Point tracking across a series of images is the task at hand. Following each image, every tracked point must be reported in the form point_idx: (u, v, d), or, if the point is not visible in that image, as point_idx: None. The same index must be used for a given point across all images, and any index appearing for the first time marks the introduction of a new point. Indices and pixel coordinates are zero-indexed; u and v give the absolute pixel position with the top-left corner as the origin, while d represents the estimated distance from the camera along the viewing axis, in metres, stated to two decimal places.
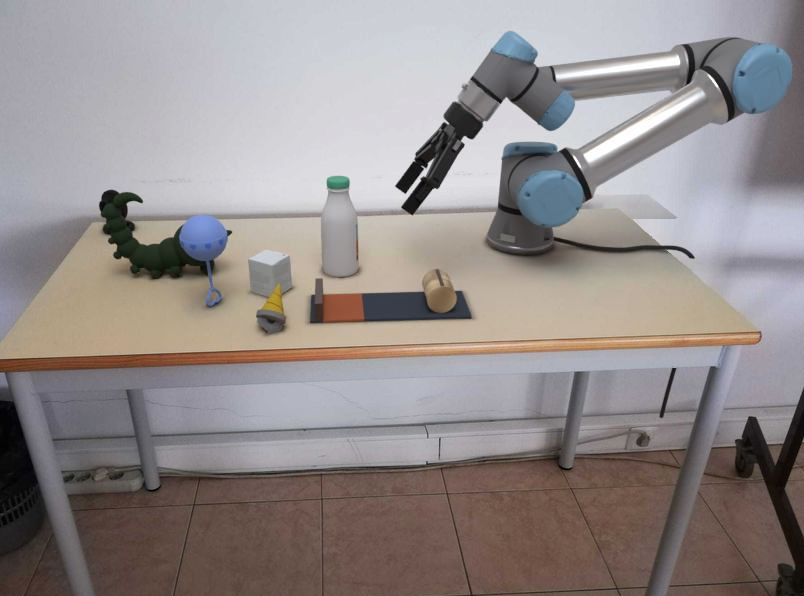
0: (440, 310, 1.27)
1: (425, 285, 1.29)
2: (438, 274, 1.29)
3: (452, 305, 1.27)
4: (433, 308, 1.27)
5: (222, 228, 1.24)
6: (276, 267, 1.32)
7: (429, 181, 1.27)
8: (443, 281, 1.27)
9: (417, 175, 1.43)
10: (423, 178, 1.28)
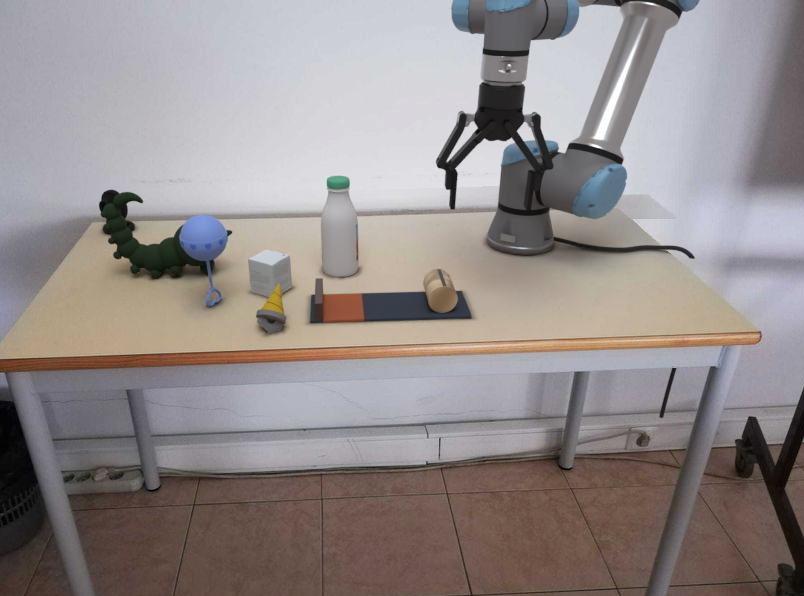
0: (441, 310, 1.27)
1: (426, 284, 1.29)
2: (440, 274, 1.29)
3: (453, 306, 1.27)
4: (433, 307, 1.27)
5: (222, 228, 1.24)
6: (276, 267, 1.32)
7: (552, 167, 1.18)
8: (445, 281, 1.27)
9: None
10: (543, 170, 1.18)
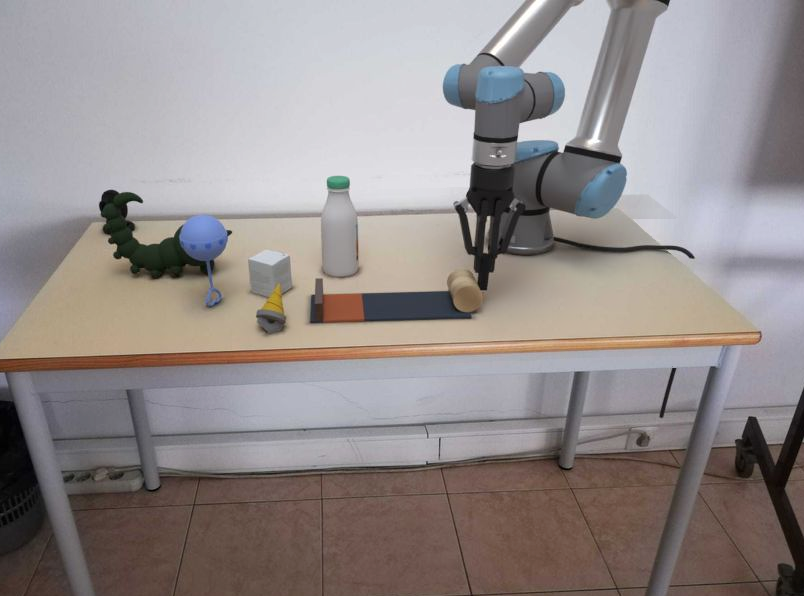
0: (457, 297, 1.26)
1: (472, 277, 1.29)
2: None
3: (459, 307, 1.27)
4: (461, 290, 1.25)
5: (222, 228, 1.24)
6: (276, 267, 1.32)
7: None
8: None
9: None
10: None
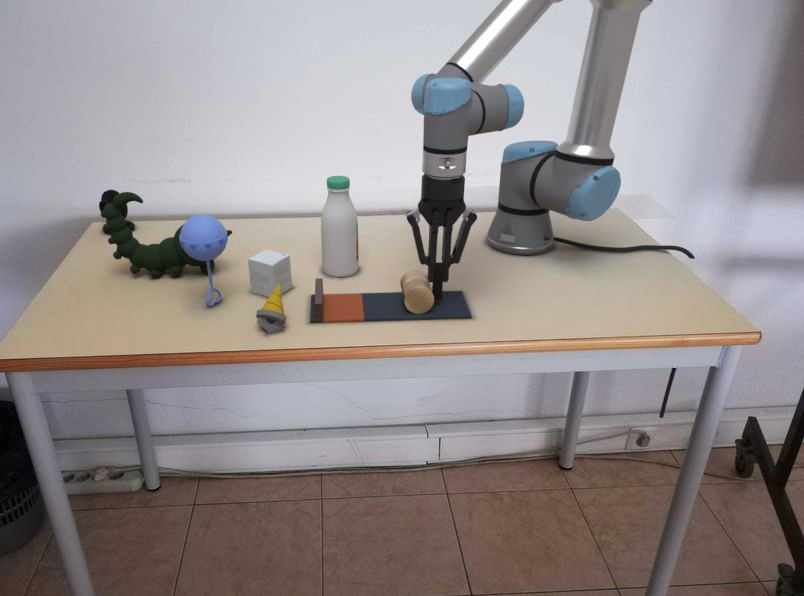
0: (430, 302, 1.26)
1: None
2: (402, 286, 1.30)
3: (428, 291, 1.25)
4: (426, 309, 1.27)
5: (222, 228, 1.24)
6: (276, 267, 1.32)
7: None
8: (404, 290, 1.27)
9: None
10: None
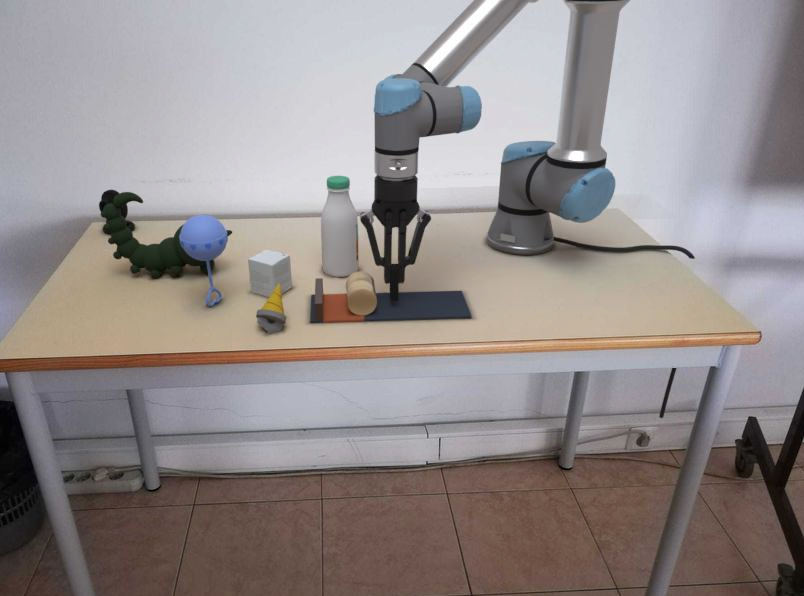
0: (352, 307, 1.26)
1: (358, 279, 1.28)
2: (373, 282, 1.29)
3: (362, 313, 1.27)
4: (350, 300, 1.25)
5: (222, 228, 1.24)
6: (276, 267, 1.32)
7: None
8: (375, 291, 1.27)
9: None
10: (404, 268, 1.25)
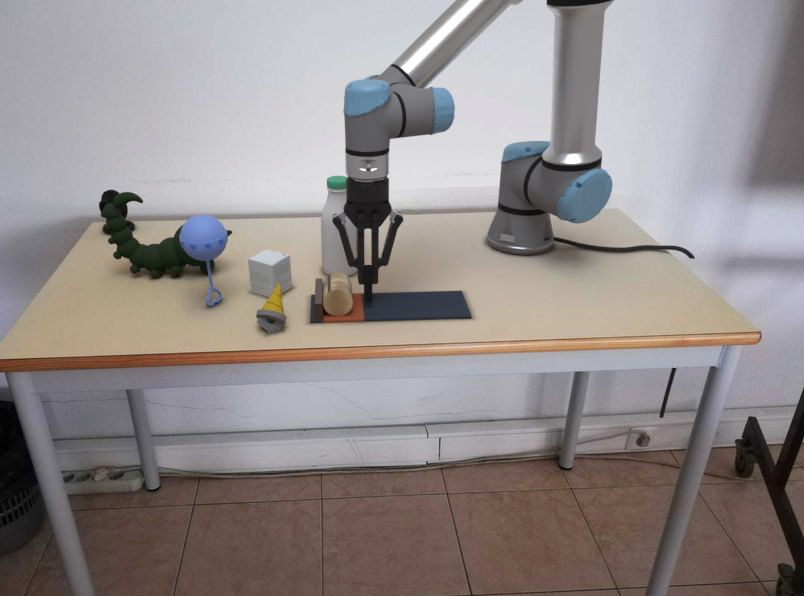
0: (344, 311, 1.26)
1: None
2: (328, 280, 1.29)
3: (350, 302, 1.25)
4: (336, 314, 1.26)
5: (222, 228, 1.24)
6: (276, 267, 1.32)
7: None
8: (331, 285, 1.26)
9: None
10: (377, 269, 1.25)
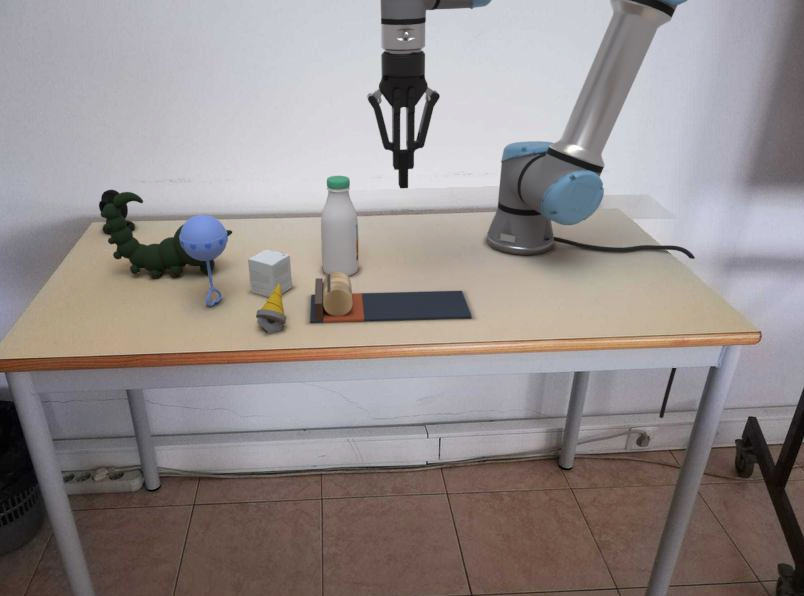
0: (343, 311, 1.26)
1: None
2: (328, 280, 1.29)
3: (350, 302, 1.25)
4: (336, 314, 1.26)
5: (222, 228, 1.24)
6: (276, 267, 1.32)
7: None
8: (330, 285, 1.26)
9: None
10: (413, 151, 1.23)
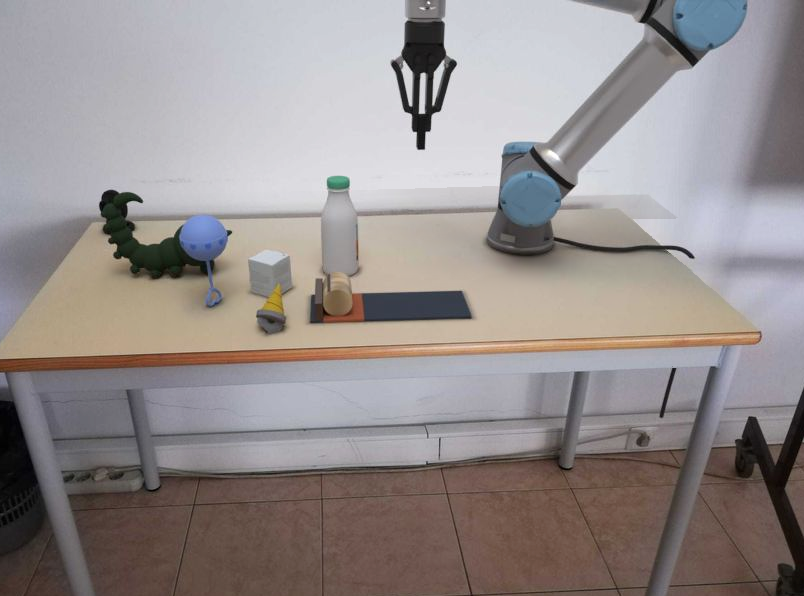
0: (343, 311, 1.26)
1: None
2: (328, 280, 1.29)
3: (350, 302, 1.25)
4: (336, 314, 1.26)
5: (222, 228, 1.24)
6: (276, 267, 1.32)
7: (439, 111, 1.34)
8: (330, 285, 1.26)
9: None
10: (431, 115, 1.34)
